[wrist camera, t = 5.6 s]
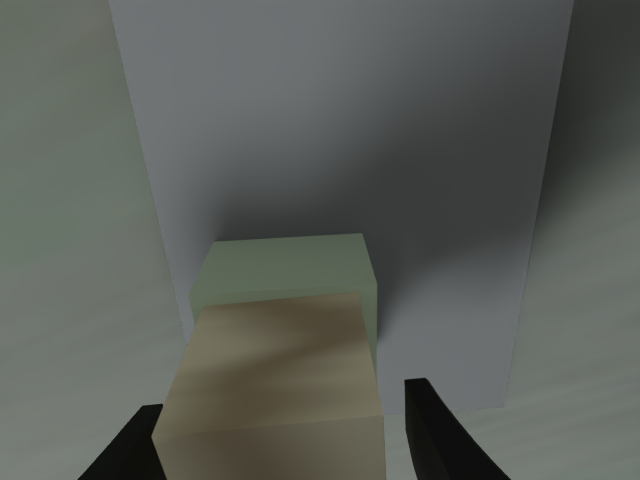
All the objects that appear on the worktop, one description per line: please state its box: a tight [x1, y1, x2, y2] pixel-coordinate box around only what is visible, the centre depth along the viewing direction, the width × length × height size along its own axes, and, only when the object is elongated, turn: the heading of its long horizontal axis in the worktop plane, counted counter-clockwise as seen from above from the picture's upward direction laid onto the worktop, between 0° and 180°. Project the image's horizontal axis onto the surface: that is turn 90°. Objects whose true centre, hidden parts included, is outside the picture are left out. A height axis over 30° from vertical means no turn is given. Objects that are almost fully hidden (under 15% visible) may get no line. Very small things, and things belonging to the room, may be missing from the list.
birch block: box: [151, 291, 386, 480], centre depth 12 cm, size 5×5×5 cm
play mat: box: [108, 0, 574, 414], centre depth 17 cm, size 15×24×1 cm, turn 3°
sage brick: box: [188, 233, 377, 382], centre depth 17 cm, size 6×6×4 cm
